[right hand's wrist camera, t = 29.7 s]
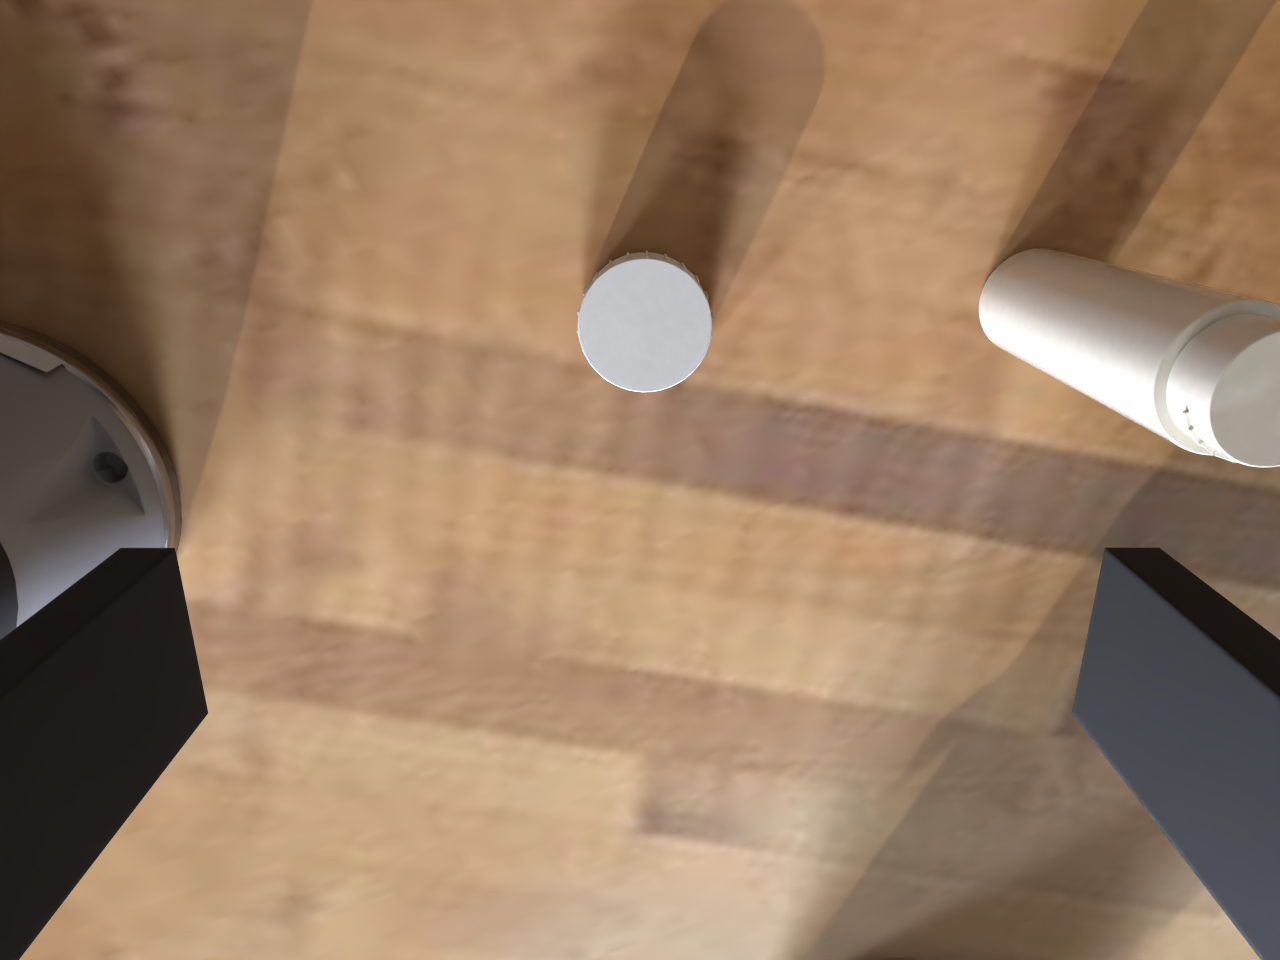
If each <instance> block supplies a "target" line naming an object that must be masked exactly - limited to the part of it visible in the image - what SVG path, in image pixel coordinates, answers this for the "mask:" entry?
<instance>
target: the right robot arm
mask: <svg viewBox="0 0 1280 960" xmlns="http://www.w3.org/2000/svg"><path fill="white" fill-rule="evenodd" d="M181 521H182V518H181V501H180V494H179V488H178V484H177V480H176V476H175V472H174V469H173V467H172V464H171V461H170V458H169V456H168V454H167V451H166V449H165V447H164V445H163V443H162V441H161V439H160V437H159V436H158V434H157V432H156V430H155V429H154V427H153V426H152V424H151V423H150V421H149V420H148V418H147V417H146V415H145V414H144V413H143V411H142V410H141V409H140V408H139V406H138V405H137V404H136V403H135V402H134V400H133V399H132V398H131V397H130V396H129V395H128V394H127V393H126V392H125V391H124V390H123V389H122V388H121V387H120V386H119V385H118V384H117V383H116V382H115V381H114V380H113V379H112V378H111V377H109V376H108V375H107V374H106V373H105V372H104V371H102V370H101V369H100V368H98V367H97V366H96V365H94V364H93V363H92V362H90V361H89V360H87V359H86V358H84V357H83V356H81V355H79V354H78V353H76V352H75V351H73V350H71V349H70V348H68V347H66V346H64V345H62V344H60V343H58V342H56V341H54V340H52V339H49V338H47V337H45V336H42V335H40V334H38V333H35V332H32V331H29V330H26V329H23V328H20V327H16V326H11V325H7V324H3V323H0V960H19V959H20V958H21V956H22V955H23V954H24V952H25V951H26V950H27V948H28V947H29V946H30V945H31V943H32V942H33V941H34V939H35V938H36V937H37V935H38V934H39V933H40V931H41V930H42V929H43V928H44V926H45V925H46V924H47V922H48V921H49V920H50V918H51V917H52V916H53V915H54V913H55V912H56V911H57V909H58V908H59V907H60V905H61V904H62V903H63V902H64V900H65V899H66V898H67V896H68V895H69V894H70V892H71V891H72V890H73V888H74V887H75V886H76V885H77V883H78V882H79V881H80V879H81V878H82V877H83V875H84V874H85V873H86V872H87V870H88V869H89V868H90V866H91V865H92V864H93V862H94V861H95V860H96V859H97V857H98V856H99V855H100V853H101V852H102V851H103V849H104V848H105V847H106V845H107V844H108V843H109V842H110V840H111V839H112V838H113V836H114V835H115V834H116V832H117V831H118V830H119V829H120V827H121V826H122V825H123V823H124V822H125V821H126V819H127V818H128V817H129V815H130V814H131V813H132V812H133V810H134V809H135V808H136V806H137V805H138V804H139V802H140V801H141V800H142V799H143V797H144V796H145V795H146V793H147V792H148V791H149V789H150V788H151V787H152V786H153V784H154V783H155V782H156V780H157V779H158V778H159V776H160V775H161V774H162V772H163V771H164V770H165V769H166V767H167V766H168V765H169V763H170V762H171V761H172V759H173V758H174V757H175V756H176V754H177V753H178V752H179V750H180V749H181V748H182V746H183V745H184V744H185V743H186V741H187V740H188V739H189V737H190V736H191V735H192V733H193V732H194V731H195V729H196V728H197V727H198V726H199V724H200V723H201V722H202V720H203V719H204V718H205V716H206V715H207V714H208V710H207V705H206V700H205V695H204V690H203V685H202V680H201V675H200V670H199V665H198V660H197V655H196V650H195V645H194V640H193V635H192V630H191V625H190V620H189V615H188V610H187V605H186V600H185V595H184V590H183V585H182V580H181V576H180V571H179V566H178V561H177V556H176V552H177V549H178V545H179V539H180V534H181ZM1072 714H1073V715H1074V716H1075V718H1076V719H1077V720H1078V722H1079V723H1080V724H1081V726H1082V727H1083V728H1084V729H1085V731H1086V732H1087V733H1088V735H1089V736H1090V737H1091V739H1092V740H1093V741H1094V743H1095V744H1096V745H1097V746H1098V748H1099V749H1100V750H1101V752H1102V753H1103V754H1104V756H1105V757H1106V758H1107V759H1108V761H1109V762H1110V763H1111V765H1112V766H1113V767H1114V769H1115V770H1116V771H1117V772H1118V774H1119V775H1120V776H1121V778H1122V779H1123V780H1124V782H1125V783H1126V784H1127V786H1128V787H1129V788H1130V789H1131V791H1132V792H1133V793H1134V795H1135V796H1136V797H1137V799H1138V800H1139V801H1140V802H1141V804H1142V805H1143V806H1144V808H1145V809H1146V810H1147V812H1148V813H1149V814H1150V815H1151V817H1152V818H1153V819H1154V821H1155V822H1156V823H1157V825H1158V826H1159V827H1160V829H1161V830H1162V831H1163V832H1164V834H1165V835H1166V836H1167V838H1168V839H1169V840H1170V842H1171V843H1172V844H1173V845H1174V847H1175V848H1176V849H1177V851H1178V852H1179V853H1180V855H1181V856H1182V857H1183V859H1184V860H1185V861H1186V862H1187V864H1188V865H1189V866H1190V868H1191V869H1192V870H1193V872H1194V873H1195V874H1196V875H1197V877H1198V878H1199V879H1200V881H1201V882H1202V883H1203V885H1204V886H1205V887H1206V888H1207V890H1208V891H1209V892H1210V894H1211V895H1212V896H1213V898H1214V899H1215V900H1216V902H1217V903H1218V904H1219V905H1220V907H1221V908H1222V909H1223V911H1224V912H1225V913H1226V915H1227V916H1228V917H1229V918H1230V920H1231V921H1232V922H1233V924H1234V925H1235V926H1236V928H1237V929H1238V930H1239V931H1240V933H1241V934H1242V935H1243V937H1244V938H1245V939H1246V941H1247V942H1248V943H1249V945H1250V946H1251V947H1252V948H1253V950H1254V951H1255V952H1256V954H1257V955H1258V956H1259V958H1260V959H1261V960H1280V640H1279V639H1278V638H1276V637H1275V636H1274V635H1273V634H1271V633H1270V632H1269V631H1267V630H1266V629H1265V628H1263V627H1262V626H1261V625H1259V624H1258V623H1257V622H1256V621H1254V620H1253V619H1252V618H1250V617H1249V616H1248V615H1246V614H1245V613H1244V612H1242V611H1241V610H1240V609H1239V608H1237V607H1236V606H1235V605H1233V604H1232V603H1231V602H1229V601H1228V600H1227V599H1225V598H1224V597H1223V596H1222V595H1220V594H1219V593H1218V592H1216V591H1215V590H1214V589H1212V588H1211V587H1210V586H1209V585H1207V584H1206V583H1205V582H1203V581H1202V580H1201V579H1199V578H1198V577H1197V576H1195V575H1194V574H1193V573H1192V572H1190V571H1189V570H1188V569H1186V568H1185V567H1184V566H1182V565H1181V564H1180V563H1178V562H1177V561H1176V560H1175V559H1173V558H1172V557H1171V556H1169V555H1168V554H1167V553H1165V552H1164V551H1163V550H1161V549H1160V548H1105V551H1104V556H1103V561H1102V566H1101V571H1100V576H1099V580H1098V585H1097V590H1096V595H1095V600H1094V605H1093V610H1092V615H1091V620H1090V625H1089V630H1088V635H1087V640H1086V645H1085V650H1084V655H1083V660H1082V665H1081V670H1080V675H1079V680H1078V685H1077V690H1076V695H1075V700H1074V705H1073V710H1072Z"/></svg>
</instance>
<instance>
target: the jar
mask: <svg viewBox="0 0 1280 960" xmlns="http://www.w3.org/2000/svg"><path fill="white" fill-rule="evenodd" d="M979 316H980V321H981V325H982V328H983V330H984V332H985V333H986V335H987V337H988V338H989V339H990V340H991V341H992V342H993V343H994V344H995V345H996V346H998V347H999V348H1001V349H1002V350H1004V351H1006V352H1008V353H1010V354H1012V355H1013V356H1015V357H1017V358H1019V359H1021V360H1023V361H1024V362H1026V363H1028V364H1030V365H1032V366H1033V367H1035V368H1037V369H1039V370H1041V371H1043V372H1044V373H1046V374H1048V375H1050V376H1052V377H1053V378H1055V379H1057V380H1059V381H1061V382H1063V383H1064V384H1066V385H1068V386H1070V387H1072V388H1073V389H1075V390H1077V391H1079V392H1081V393H1083V394H1084V395H1086V396H1088V397H1090V398H1092V399H1093V400H1095V401H1097V402H1099V403H1101V404H1103V405H1104V406H1106V407H1108V408H1110V409H1112V410H1114V411H1115V412H1117V413H1119V414H1121V415H1123V416H1124V417H1126V418H1128V419H1130V420H1132V421H1134V422H1135V423H1137V424H1139V425H1141V426H1143V427H1144V428H1146V429H1148V430H1150V431H1152V432H1154V433H1155V434H1157V435H1159V436H1161V437H1163V438H1164V439H1166V440H1168V441H1170V442H1172V443H1174V444H1175V445H1177V446H1179V447H1181V448H1183V449H1185V450H1188V451H1190V452H1194V453H1197V454H1203V455H1214V456H1217V457H1220V458H1222V459H1225V460H1228V461H1231V462H1233V463H1240V464H1244V465H1247V466H1252V467H1276V466H1280V305H1278V304H1275V303H1272V302H1269V301H1265V300H1261V299H1257V298H1252V297H1248V296H1244V295H1240V294H1236V293H1232V292H1227V291H1223V290H1219V289H1215V288H1211V287H1207V286H1202V285H1198V284H1194V283H1190V282H1186V281H1182V280H1177V279H1173V278H1169V277H1165V276H1161V275H1157V274H1153V273H1148V272H1144V271H1140V270H1136V269H1132V268H1128V267H1123V266H1119V265H1115V264H1111V263H1107V262H1103V261H1098V260H1094V259H1090V258H1086V257H1082V256H1078V255H1073V254H1069V253H1065V252H1061V251H1057V250H1053V249H1047V248H1034V249H1028V250H1024V251H1021V252H1019V253H1016V254H1014V255H1013V256H1011V257H1009V258H1008V259H1006V260H1005V261H1003V262H1002V263H1001V264H1000V265H999V266H998V267H997V268H996V269H995V270H994V271H993V272H992V274H991V275H990V277H989V278H988V280H987V281H986V283H985V285H984V288H983V290H982V293H981V297H980V302H979Z"/></svg>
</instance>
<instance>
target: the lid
mask: <svg viewBox="0 0 1280 960" xmlns="http://www.w3.org/2000/svg"><path fill="white" fill-rule="evenodd" d="M699 282H700V281H699V279H698V277H697V275H693V274H692V273H691V272H690V271H689V270H688V269H687V268H686V267H685V265H684V263H683V262H681V263H680V262H678V261H676V260H674V259H673V258H670V257H668V256H667V254H665V253H664V255H662V254H658V253H651V252H648V250H646V252H638V253H632V254H629V252H628V253H627V254H626V255H625V256H622V257H620V258H617V259H615V260H613V261H612V260H610V261H609V264H607V265H606V266H605V267H604V268H602V269H601V270H600V271H599V272H596V273H595V275H594V277H593V280H592V281H591V283H590V285H589V286H588V288H587V287H586V288H585V290H584V293H583V296H584V298H583V301H582V304H581V305H580V307H579V309H578V312H577V314H579V316H578V330H577V334H579V340H580V343H581V347H582V351H583V352H584V354H585V356H586V358H587V360H588V361H589V363H590V364H591V366H592V367H593V368H594V369H595V370H596V371H597V372H598V373H599V374H600V375H601V376H602V377H603V378H605V379H606V380H607V381H609V382H610V383H612V384H614V385H616V386H618V387H621V388H624V389H627V390H631V391H637V392H653V391H659V390H663V389H666V388H669V387H671V386H674V385H676V384H678V383H679V382H681V381H683V380H684V379H685V378H687V377H688V376H689V375H690V374H691V373H692V372H693V371H694V370H695V369H696V368H697V367H698V365H699V364H700V363H701V361H702V359H703V358H704V356H705V354H706V352H707V349H708V347H709V343H710V340H711V338H712V318H713V315H712V312H711V310H710V306H709V303H708V301H707V300H708V299H709V297H708V295H707V293H706V291H703V289H702V287H701V285H700V283H699Z"/></svg>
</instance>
